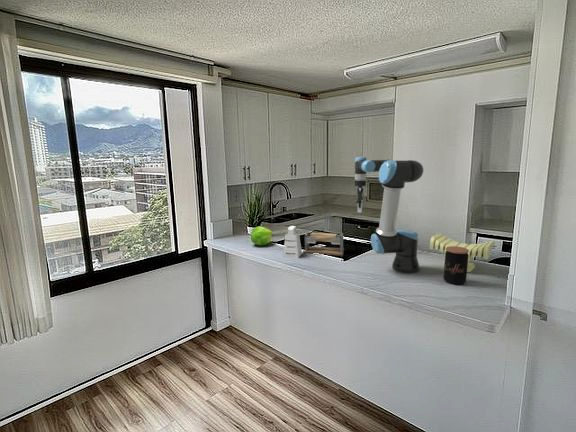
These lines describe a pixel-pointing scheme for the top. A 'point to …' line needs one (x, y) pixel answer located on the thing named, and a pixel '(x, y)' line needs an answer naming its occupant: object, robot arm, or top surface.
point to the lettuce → (261, 236)
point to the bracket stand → (324, 249)
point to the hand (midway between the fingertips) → (359, 210)
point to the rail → (323, 236)
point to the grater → (292, 243)
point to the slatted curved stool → (474, 249)
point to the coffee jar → (456, 265)
